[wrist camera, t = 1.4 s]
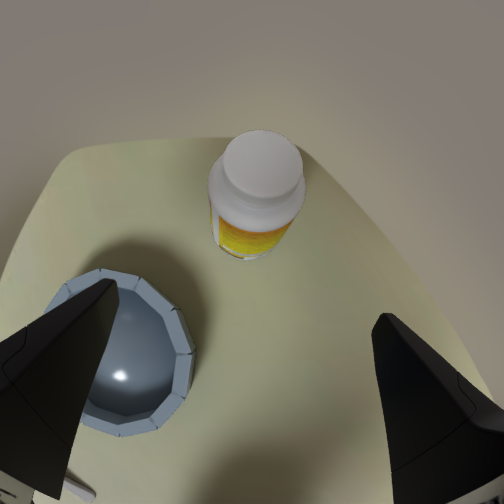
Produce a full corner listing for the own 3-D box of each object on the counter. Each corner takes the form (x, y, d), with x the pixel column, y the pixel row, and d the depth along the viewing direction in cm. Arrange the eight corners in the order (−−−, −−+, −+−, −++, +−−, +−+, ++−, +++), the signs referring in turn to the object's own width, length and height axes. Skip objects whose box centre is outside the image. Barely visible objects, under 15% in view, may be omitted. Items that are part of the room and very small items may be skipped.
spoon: (8, 409, 17) (-2, 414, 15) (102, 486, 17) (96, 496, 15) (3, 426, 16) (-7, 431, 14) (92, 500, 16) (87, 509, 14)
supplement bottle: (292, 244, 23) (339, 189, 13) (229, 273, 22) (236, 233, 12) (261, 186, 24) (285, 107, 14) (200, 211, 23) (188, 137, 13)
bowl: (217, 400, 20) (217, 412, 17) (90, 432, 18) (75, 444, 15) (163, 256, 22) (155, 247, 19) (44, 302, 20) (25, 298, 17)
